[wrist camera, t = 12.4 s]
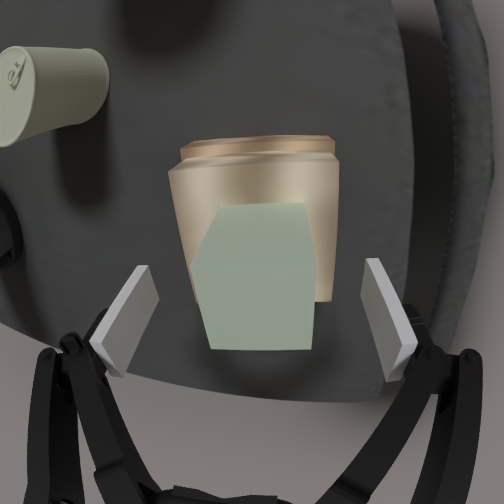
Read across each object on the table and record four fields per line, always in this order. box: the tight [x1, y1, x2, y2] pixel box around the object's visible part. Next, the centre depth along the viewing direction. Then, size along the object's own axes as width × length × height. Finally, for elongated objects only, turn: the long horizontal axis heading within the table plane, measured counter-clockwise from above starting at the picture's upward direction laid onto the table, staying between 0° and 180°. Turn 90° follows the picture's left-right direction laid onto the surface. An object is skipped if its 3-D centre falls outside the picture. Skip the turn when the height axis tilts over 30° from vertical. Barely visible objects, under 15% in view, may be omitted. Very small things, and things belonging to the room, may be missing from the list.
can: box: [0, 46, 110, 147], centre depth 18 cm, size 9×9×12 cm
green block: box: [190, 202, 317, 350], centre depth 18 cm, size 6×6×8 cm
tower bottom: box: [180, 135, 335, 161], centre depth 27 cm, size 13×13×4 cm
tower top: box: [168, 150, 339, 303], centre depth 24 cm, size 12×12×4 cm
